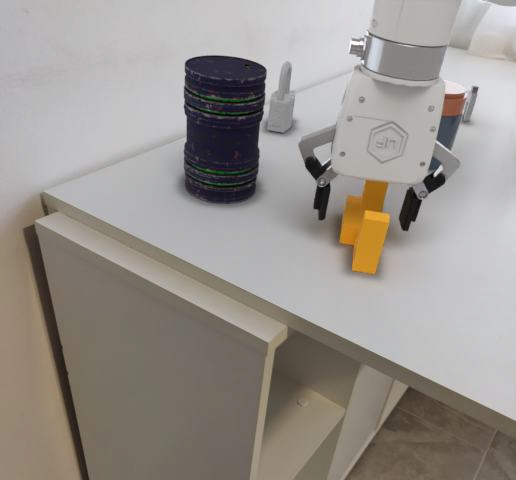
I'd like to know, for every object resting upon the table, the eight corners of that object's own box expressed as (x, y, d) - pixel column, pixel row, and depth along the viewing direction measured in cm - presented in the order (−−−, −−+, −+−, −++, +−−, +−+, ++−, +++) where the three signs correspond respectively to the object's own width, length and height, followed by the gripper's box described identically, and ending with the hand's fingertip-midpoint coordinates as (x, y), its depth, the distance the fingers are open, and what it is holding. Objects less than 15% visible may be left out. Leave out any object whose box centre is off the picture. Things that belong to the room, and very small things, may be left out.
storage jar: (204, 209, 67) (208, 82, 57) (171, 177, 73) (169, 57, 63) (270, 196, 72) (284, 76, 62) (234, 166, 78) (241, 53, 68)
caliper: (468, 124, 102) (480, 89, 98) (462, 123, 102) (474, 88, 98) (455, 92, 117) (465, 61, 113) (450, 91, 117) (460, 60, 113)
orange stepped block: (342, 217, 69) (352, 169, 65) (375, 223, 69) (388, 175, 64) (336, 267, 60) (348, 215, 56) (374, 274, 60) (389, 222, 55)
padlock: (273, 117, 95) (279, 55, 88) (295, 121, 94) (303, 58, 88) (263, 130, 90) (269, 65, 83) (286, 134, 89) (295, 69, 83)
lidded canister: (441, 150, 90) (463, 80, 83) (451, 172, 84) (477, 98, 76) (387, 143, 90) (404, 73, 83) (393, 165, 83) (413, 91, 76)
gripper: (312, 57, 48) (287, 227, 59) (503, 81, 48) (441, 246, 59) (312, 38, 54) (289, 196, 65) (482, 60, 54) (430, 214, 65)
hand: (362, 220), depth 62 cm, fingers open, 9 cm apart
